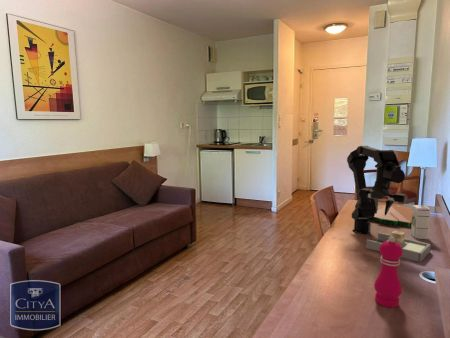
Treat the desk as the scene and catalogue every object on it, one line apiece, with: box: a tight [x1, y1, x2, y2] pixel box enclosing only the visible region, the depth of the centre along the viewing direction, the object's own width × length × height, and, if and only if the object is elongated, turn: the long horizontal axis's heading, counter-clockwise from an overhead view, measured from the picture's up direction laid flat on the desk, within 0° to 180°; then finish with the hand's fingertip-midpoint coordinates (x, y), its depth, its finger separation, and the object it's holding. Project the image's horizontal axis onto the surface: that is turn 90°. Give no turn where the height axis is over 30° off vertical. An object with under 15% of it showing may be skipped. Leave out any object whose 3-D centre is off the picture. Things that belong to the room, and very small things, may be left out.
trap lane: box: [365, 232, 431, 263], centre depth 136 cm, size 20×14×4 cm
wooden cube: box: [390, 230, 405, 244], centre depth 138 cm, size 4×4×4 cm
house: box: [373, 204, 413, 228], centre depth 182 cm, size 23×33×8 cm
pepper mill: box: [373, 236, 403, 308], centre depth 94 cm, size 7×7×20 cm
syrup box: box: [410, 204, 431, 240], centre depth 151 cm, size 6×6×14 cm
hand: (380, 214), depth 142 cm, fingers open, 4 cm apart
